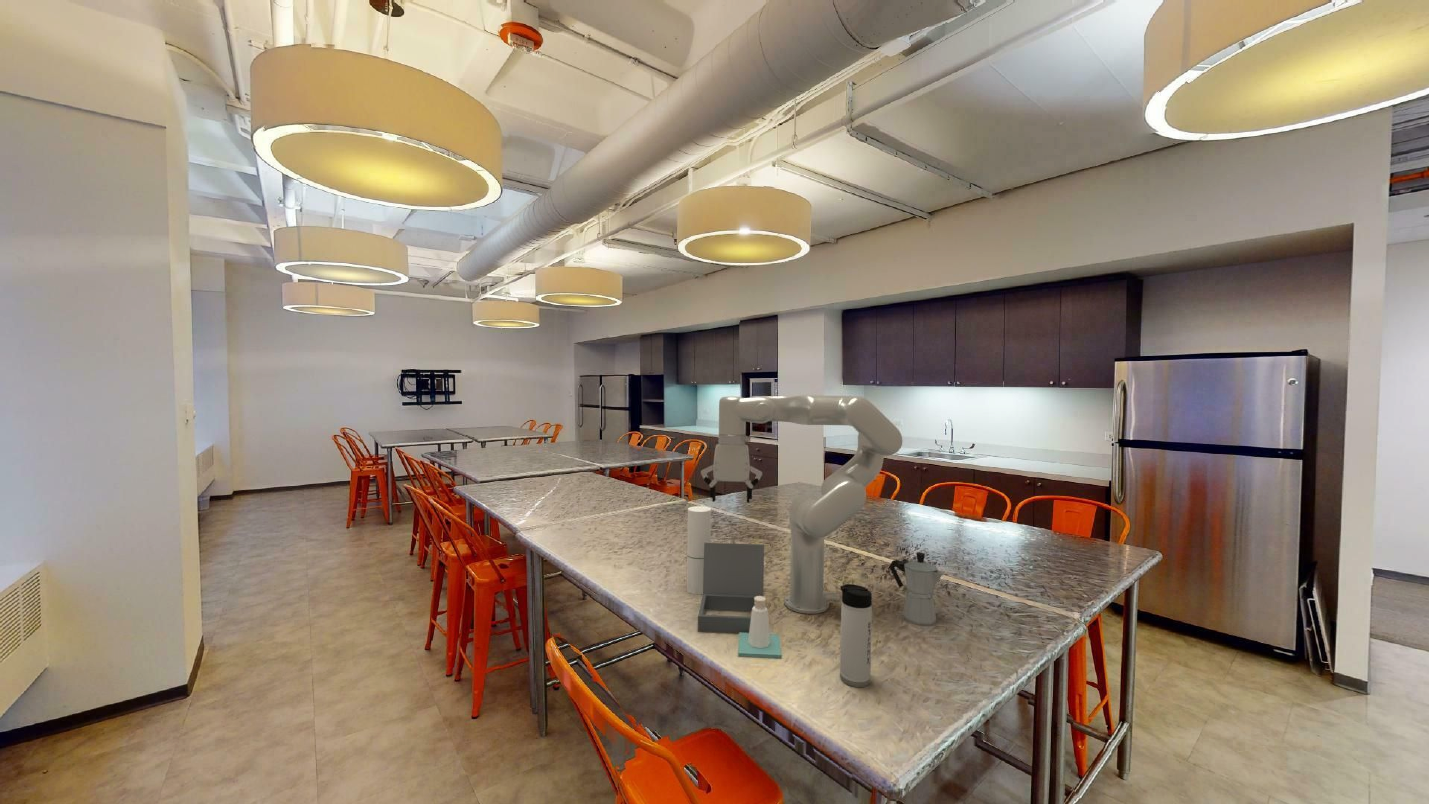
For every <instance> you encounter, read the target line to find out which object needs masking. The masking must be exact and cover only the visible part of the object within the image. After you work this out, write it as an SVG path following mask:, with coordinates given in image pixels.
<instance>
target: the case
mask: <svg viewBox="0 0 1429 804" xmlns="http://www.w3.org/2000/svg"><path fill="white" fill-rule="evenodd" d="M755 597H756V596H738V595H714V594H702V597H701V601H700V604H699V610H698V616H697V632H698V633H699V632H700V633H717V634H738V635H739V632H742V633H749V630H750V622H751V616H745V615H744V616H743V615H741V616H740V615H722V614H721V615H718V614H706V611H725V612H747V613H748V612H750V613H752V608H753V607H754V605H755V604H754V602H755V601H754V598H755Z"/></svg>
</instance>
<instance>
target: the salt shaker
mask: <svg viewBox="0 0 1429 804" xmlns="http://www.w3.org/2000/svg"><path fill="white" fill-rule="evenodd" d="M754 601H755V602H754V604H755V605H754V607H753V608H752V612H750V613H751V614H750V617H751V622H750V630H749V638H748V643H749V644H750V645H751V646H752V647H756V648H765V647H768V646H769V644H770V634H771V632H770V621H769V620H770V619H769V610H768V608H767V606H766V601H767V598H766V597H765V596H764V595H763V596H756V597H755V598H754Z"/></svg>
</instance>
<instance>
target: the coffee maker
mask: <svg viewBox="0 0 1429 804" xmlns="http://www.w3.org/2000/svg"><path fill="white" fill-rule="evenodd" d="M915 555H916V560H908V559H907V558H906V559H905V558H902V559H901V560H899V559H894V560H892V561H891V563H890V565H888V568H889V570H890V572H891V573H892V576H893V577H894V579H895V581H896V583H897V586H898V588H899V589H901V588H902V587H903V586H904V584H903V582H902V580H901V578H900V575H899V573H898V572H897V570H896V568H897V569H898V570H900V571H901V572H903V573H904V575H905V583H906V590H907V592H906V594H905V599H904V604H903V607H902V608H903V609H902V612H901V613H902V614H901V616H902V617H903V619H904V620H905V621H906V622H907V623H911V624H914V625H918V626H934V624H935V623H936V622H937V615H936V609H935V601H934V596H933V595H932V594H934V591H935V586H936V585H937V584H938V582H939V580H941V577H942V576H945V575H946V574H945V573H943V572H942V571H941V570H938V569H937V566H936V565H934V564H932V563H929V562H927V561H925V557H926V553H924V552H921V551H919V552H916V553H915Z"/></svg>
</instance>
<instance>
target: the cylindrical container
mask: <svg viewBox="0 0 1429 804" xmlns="http://www.w3.org/2000/svg"><path fill="white" fill-rule="evenodd" d="M711 529H712V508H711V507H709V506H705V505H704V506H701V505H699V506H698V505H695V506H689V507H688V508H687V534H686V535H687V536H686V537H687V542H686V543H687V545H686V546H687V547H686V548H687V549H686V550H687V551H686V558H687V559H686V591H687V592H688V593H689V594H693V595H703V571H704V543H712V542H711V541H712V539H711V536H712V530H711Z"/></svg>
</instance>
